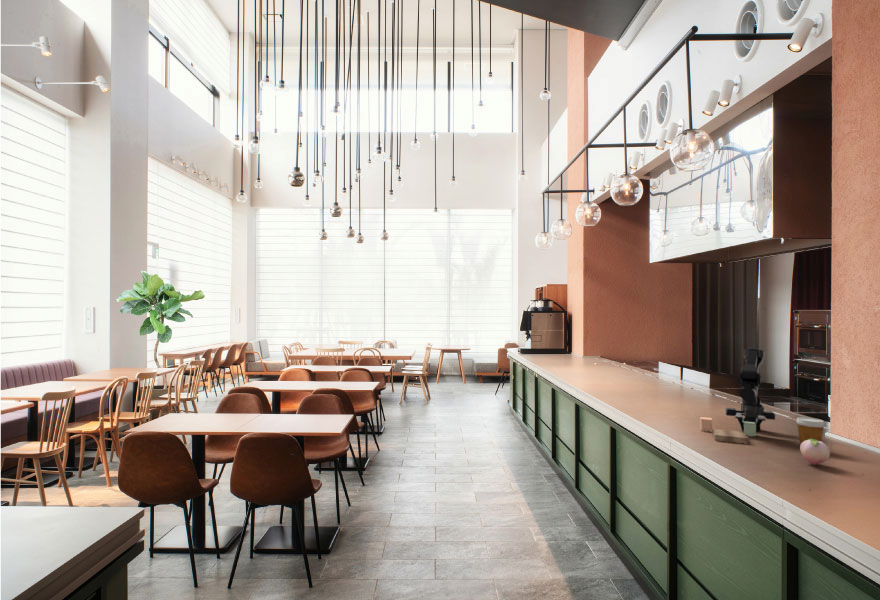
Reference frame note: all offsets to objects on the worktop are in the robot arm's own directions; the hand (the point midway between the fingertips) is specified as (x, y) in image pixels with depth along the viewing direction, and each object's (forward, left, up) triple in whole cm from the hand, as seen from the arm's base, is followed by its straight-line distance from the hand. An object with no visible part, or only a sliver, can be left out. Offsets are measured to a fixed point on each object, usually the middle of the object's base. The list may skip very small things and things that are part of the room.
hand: (749, 432), depth 225 cm
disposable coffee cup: (-19, +16, -1) cm, 25 cm away
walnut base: (+9, +13, -1) cm, 16 cm away
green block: (0, 0, -1) cm, 1 cm away
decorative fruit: (-15, +41, -1) cm, 44 cm away
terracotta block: (+17, -1, -1) cm, 17 cm away
